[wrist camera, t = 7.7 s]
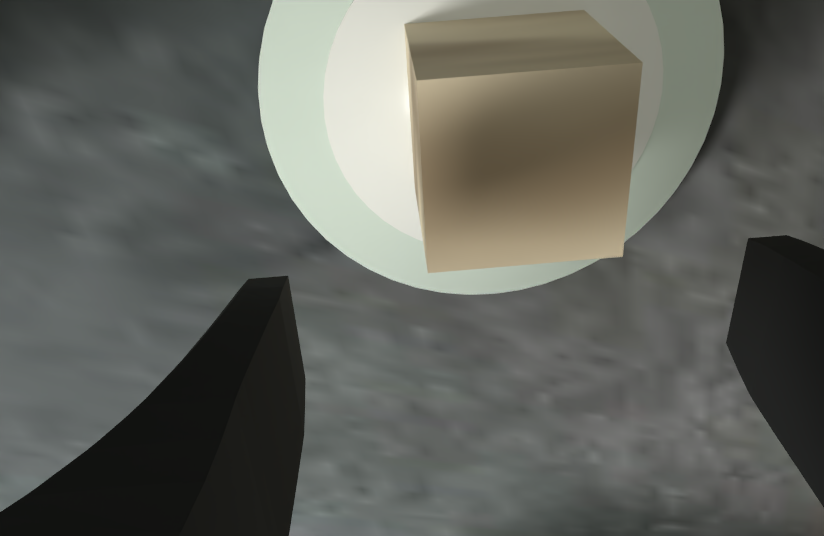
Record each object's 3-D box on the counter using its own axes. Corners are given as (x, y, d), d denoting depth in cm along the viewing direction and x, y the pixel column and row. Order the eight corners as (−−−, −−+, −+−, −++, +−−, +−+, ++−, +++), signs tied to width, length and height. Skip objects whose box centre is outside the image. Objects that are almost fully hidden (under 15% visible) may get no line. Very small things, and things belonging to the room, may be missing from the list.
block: (573, 174, 19) (622, 256, 15) (414, 187, 19) (427, 273, 15) (583, 9, 16) (642, 62, 13) (404, 23, 16) (416, 80, 13)
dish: (676, 258, 22) (692, 280, 21) (297, 290, 21) (293, 314, 20) (743, -185, 16) (770, -185, 15) (222, -149, 15) (213, -145, 14)
